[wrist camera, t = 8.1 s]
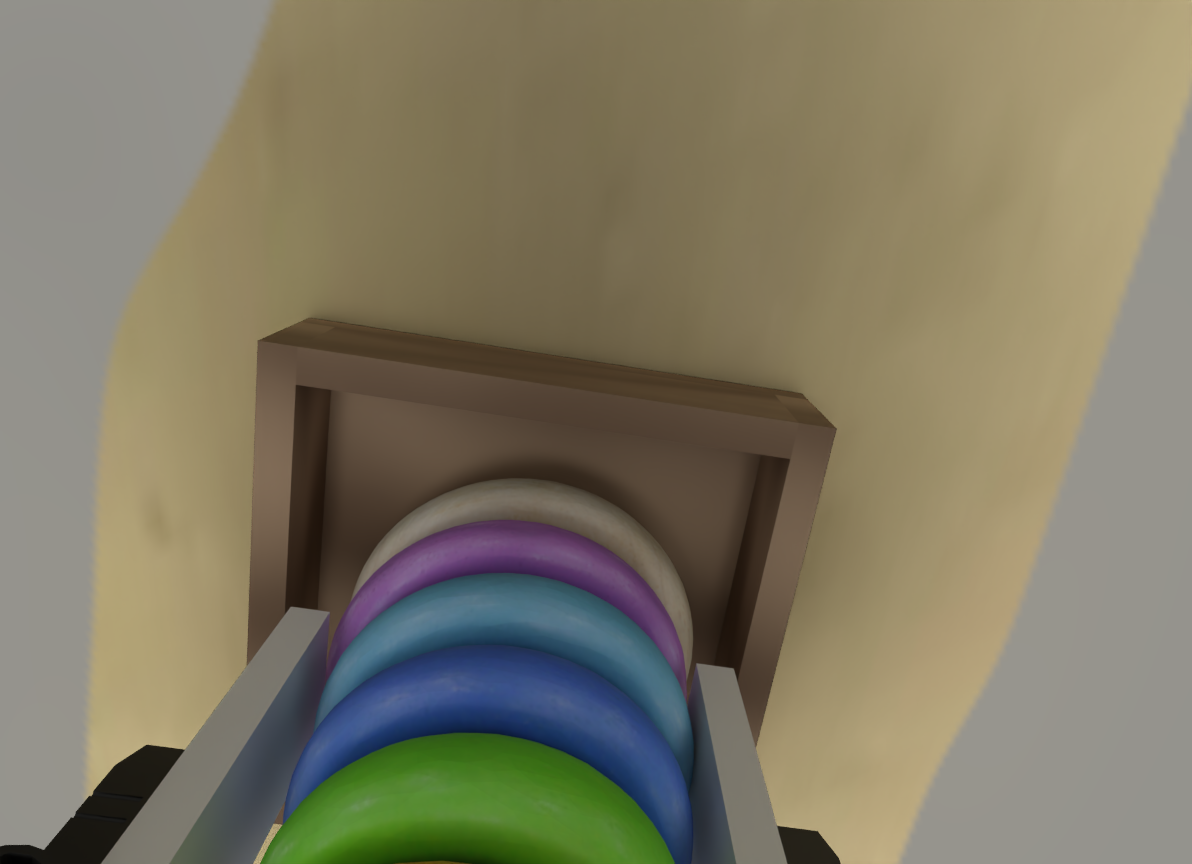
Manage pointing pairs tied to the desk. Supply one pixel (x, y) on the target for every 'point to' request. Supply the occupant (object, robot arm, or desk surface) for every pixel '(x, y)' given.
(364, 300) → the desk surface
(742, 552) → the walnut open square tray
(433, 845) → the stacking toy
